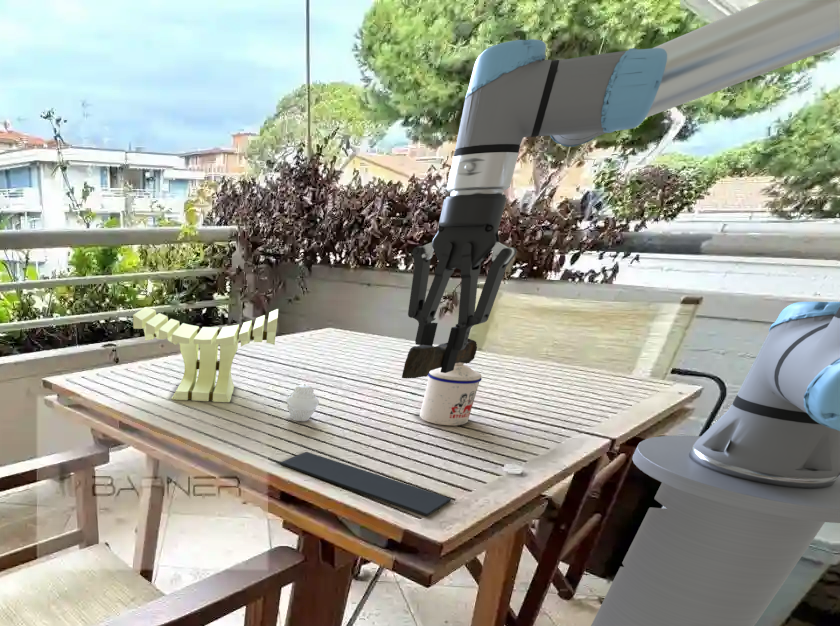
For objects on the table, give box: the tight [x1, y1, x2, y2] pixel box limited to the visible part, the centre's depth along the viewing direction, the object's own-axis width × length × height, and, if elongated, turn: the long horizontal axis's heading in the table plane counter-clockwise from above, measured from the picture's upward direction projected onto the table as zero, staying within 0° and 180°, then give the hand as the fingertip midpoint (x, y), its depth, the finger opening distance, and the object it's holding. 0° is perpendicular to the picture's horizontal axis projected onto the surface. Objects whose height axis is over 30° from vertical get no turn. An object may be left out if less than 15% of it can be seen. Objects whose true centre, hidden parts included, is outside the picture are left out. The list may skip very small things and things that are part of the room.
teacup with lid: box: [419, 362, 483, 427], centre depth 106 cm, size 12×9×12 cm
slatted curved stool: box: [132, 306, 279, 403], centre depth 124 cm, size 30×16×18 cm, turn 77°
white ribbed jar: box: [286, 383, 320, 422], centre depth 108 cm, size 6×6×7 cm
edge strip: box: [280, 451, 452, 517], centre depth 83 cm, size 24×7×1 cm, turn 40°
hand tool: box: [401, 338, 478, 380], centre depth 84 cm, size 19×4×5 cm, turn 126°
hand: (434, 368), depth 85 cm, fingers closed on hand tool, 3 cm apart
